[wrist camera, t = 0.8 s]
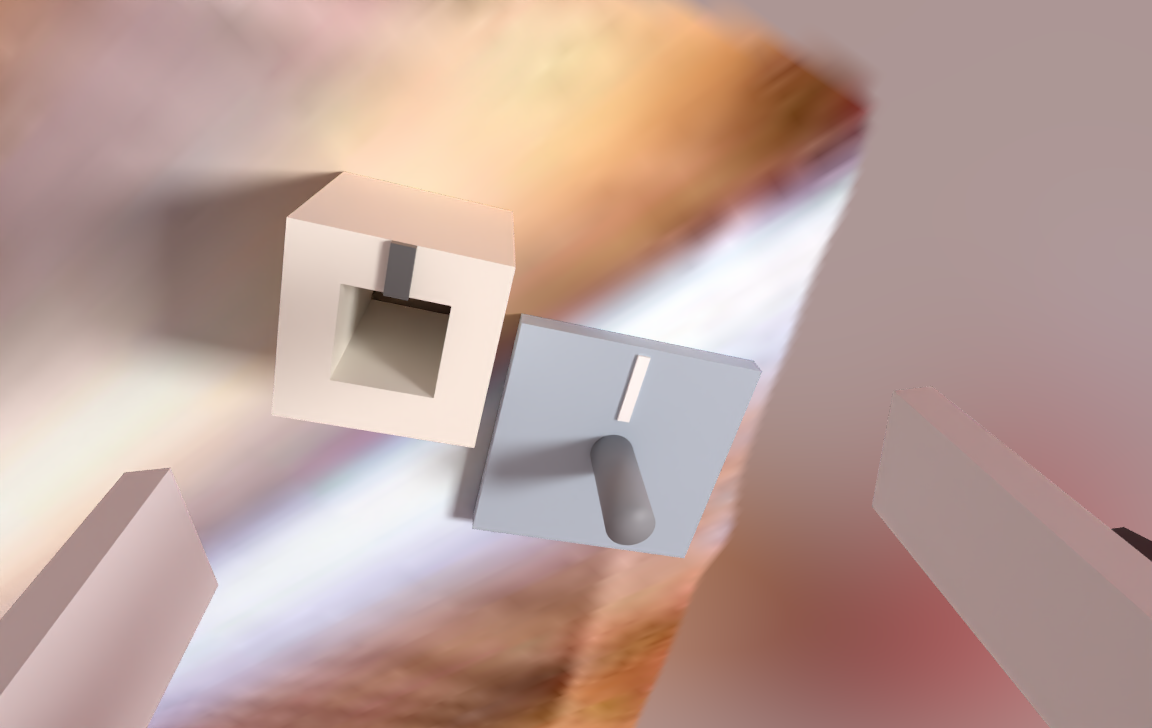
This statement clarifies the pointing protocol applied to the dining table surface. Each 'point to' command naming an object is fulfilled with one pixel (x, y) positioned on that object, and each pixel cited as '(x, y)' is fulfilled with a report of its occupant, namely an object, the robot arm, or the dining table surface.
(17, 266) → the dining table surface
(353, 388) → the cube with square hole
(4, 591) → the dining table surface
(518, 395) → the plate
